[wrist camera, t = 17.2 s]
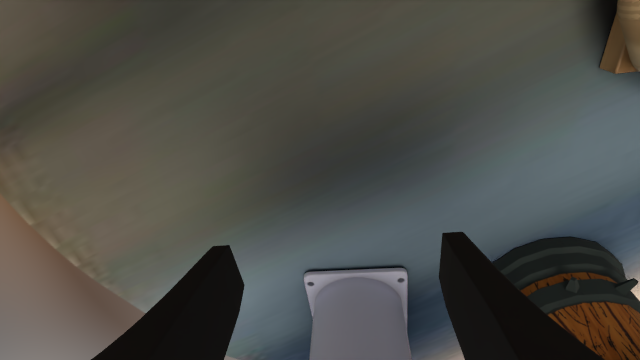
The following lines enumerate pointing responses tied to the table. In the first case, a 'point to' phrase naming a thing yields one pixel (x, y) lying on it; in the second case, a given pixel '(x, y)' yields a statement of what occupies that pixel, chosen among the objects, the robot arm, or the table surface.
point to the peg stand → (616, 52)
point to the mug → (579, 292)
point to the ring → (630, 28)
